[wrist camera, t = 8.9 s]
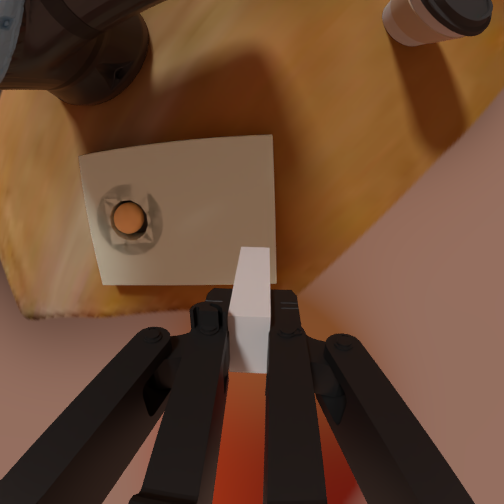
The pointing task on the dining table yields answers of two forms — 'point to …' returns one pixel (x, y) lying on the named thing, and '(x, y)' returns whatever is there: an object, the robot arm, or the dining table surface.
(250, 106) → the dining table surface
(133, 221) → the ball
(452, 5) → the coffee cup
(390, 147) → the dining table surface
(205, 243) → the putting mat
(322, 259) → the dining table surface
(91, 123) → the dining table surface
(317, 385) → the robot arm
